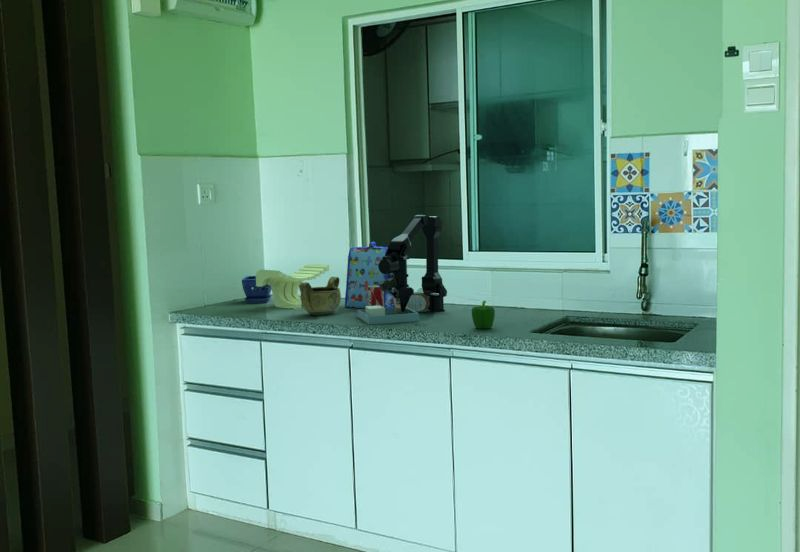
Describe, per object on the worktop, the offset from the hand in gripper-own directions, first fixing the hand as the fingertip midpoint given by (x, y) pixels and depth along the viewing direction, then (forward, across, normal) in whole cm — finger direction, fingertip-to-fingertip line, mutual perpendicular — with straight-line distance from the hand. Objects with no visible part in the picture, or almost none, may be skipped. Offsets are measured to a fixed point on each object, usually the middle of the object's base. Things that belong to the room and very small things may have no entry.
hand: (400, 310), depth 329 cm
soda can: (+4, -16, -7) cm, 18 cm away
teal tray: (+3, 0, -6) cm, 7 cm away
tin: (+4, -17, +9) cm, 20 cm away
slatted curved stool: (+4, -58, -35) cm, 68 cm away
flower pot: (+4, -80, -49) cm, 94 cm away
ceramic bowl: (+4, -26, -28) cm, 38 cm away
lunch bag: (+4, -39, -3) cm, 39 cm away
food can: (+2, 0, 0) cm, 2 cm away
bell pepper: (+4, +33, +22) cm, 40 cm away
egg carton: (+3, 0, -11) cm, 11 cm away
